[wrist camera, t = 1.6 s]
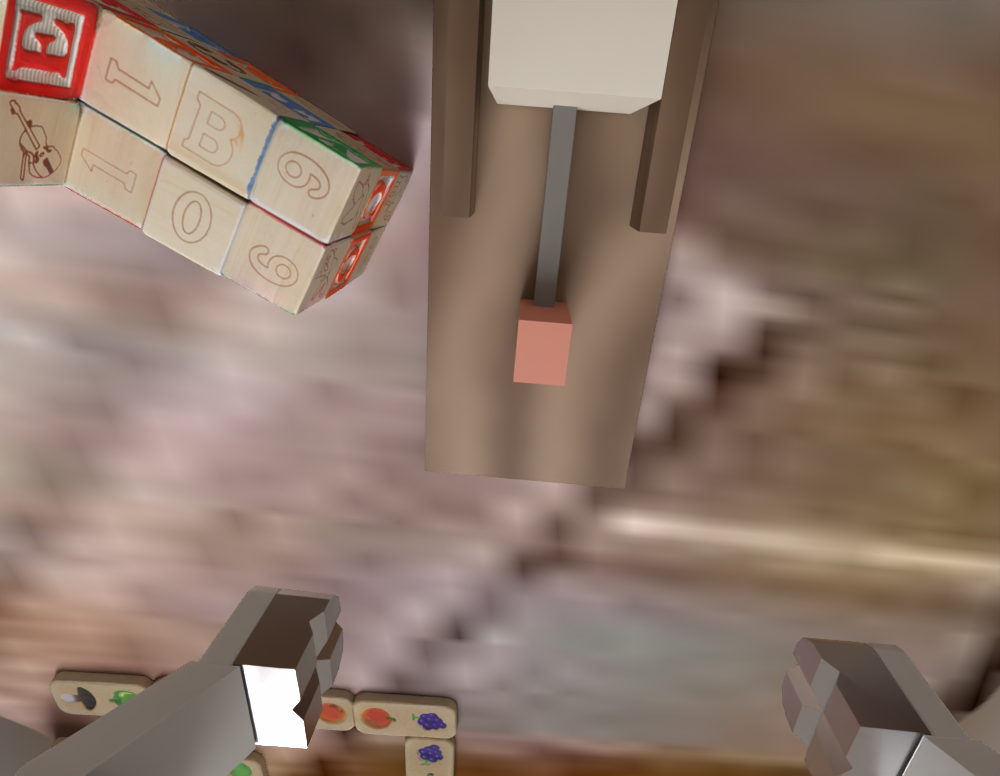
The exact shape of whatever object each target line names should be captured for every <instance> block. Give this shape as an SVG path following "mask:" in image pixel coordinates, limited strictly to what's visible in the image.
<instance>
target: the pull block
mask: <svg viewBox="0 0 1000 776" xmlns="http://www.w3.org/2000/svg"><path fill="white" fill-rule="evenodd" d="M677 3H678V0H493V6H492V24H491V42H490V60H489V78H488V87H489V89H490V91H491V92H492V94H493V96H494V98H495V100H496V102H497V104H507V105H520V106H533V107H546V108H553V111H552V121H551V131H550V141H549V151H548V161H547V171H546V181H545V192H544V202H543V212H542V222H541V232H540V242H539V252H538V262H537V272H536V282H535V293H534V300H528V299H520V305H519V316H518V327H517V339H516V350H515V364H514V379H513V382H522V383H534V384H545V385H557V386H564V385H565V378H566V370H567V363H568V355H569V347H570V340H571V332H572V321H571V317H570V314H569V310H568V306H567V303H565V302H555V295H556V287H557V278H558V269H559V261H560V252H561V243H562V235H563V226H564V217H565V208H566V200H567V191H568V182H569V174H570V165H571V156H572V148H573V139H574V130H575V122H576V113H577V110H585V111H598V112H610V113H623V114H631V113H633V112H635V111H637V110H640V109H642V108H644V107H646V106H648V105H650V104H652V103H654V102H656V101H658V100H660V99H661V97H662V91H663V85H664V79H665V73H666V67H667V62H668V56H669V50H670V44H671V38H672V32H673V26H674V20H675V14H676V8H677Z"/></svg>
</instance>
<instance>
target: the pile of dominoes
mask: <svg viewBox="0 0 1000 776" xmlns="http://www.w3.org/2000/svg"><path fill="white" fill-rule="evenodd" d="M162 678H164V677H162ZM162 678H159V679H157V680H156V681H152V680H150V679H149V678H147V677H144V676H137V675H120V674H102V673H86V672H69V671H63V672H59V673H58V674H57V675H56V676H55V677H54V679H53V680H52V681H51V683H50V690H51V692H52V694H53V697H54V699H55V701H56V703H57V705H58V707H59V708H60V709H61V710H62V711H64V712H66V713H69V714H81V715H101V716H103V715H105V714H106V713H108V712H110V711H111V710H113V709H114V708H116V707H118V706H119V705H121V704H122V703H124V702H126V701H127V700H129V699H130V698H132V697H134V696H135V695H137V694H138V693H140V692H142V691H143V690H145V689H146V688H148V687H150V686H151V685H153V684H154V683H156V682H158V681H159V680H161V679H162ZM321 699H322V708H323V710H322V713H321V715H320V718H319V720H318V722H317V725H316V727H315V728H318V729H330V730H349V729H351V728H352V727H353V726H354V725H356V727H357V729H358V730H359V731H361V732H363V733H367V734H380V735H397V736H406V738H405V760H406V776H454V767H455V739H454V737H453V736H454V735H455V734H456V730H457V706H456V703H455V702H454V701H453V700H451V699H449V698H441V697H425V696H411V695H396V694H381V693H360V694H358V695H356V696H354V695H353V694H352V693H350V692H348V691H346V690H338V689H328V690H326V691H325V692H324V693H323V694H321ZM66 738H68V737H59V738H57V739H56V741H55V742H54V744H53V745H52V746H51V748H52V747H54V746H55V745H57V744H58V743H60V742H62V741H63V740H65V739H66ZM48 750H49V749H48ZM227 776H268V772H267V768H266V764H265V761H264V758H263V756H261V755H260V754H259V753H257V752H251V753H250V754H249V755H248V756H247V757H246V758H245V759H244V760H243V761H242V762H241V763H240V764H239V765H238V766H237V767H236V768H234V769H233V770H232V771H231V772H230V773H229V774H228V775H227Z"/></svg>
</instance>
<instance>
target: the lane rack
mask: <svg viewBox="0 0 1000 776" xmlns="http://www.w3.org/2000/svg"><path fill="white" fill-rule="evenodd" d="M718 3H719V0H678V3H677V8H676V14H675V20H674V26H673V32H672V38H671V44H670V50H669V56H668V62H667V67H666V73H665V79H664V85H663V91H662V97H661V99H660V100H658V101H656V102H654V103H652V104H650V105H648V106H646V107H644V108H642V109H640V110H637V111H635V112H633V113H631V114H623V113H610V112H598V111H585V110H577V113H576V122H575V130H574V139H573V148H572V156H571V165H570V174H569V182H568V191H567V200H566V208H565V217H564V226H563V235H562V243H561V252H560V261H559V269H558V278H557V287H556V295H555V302H565V303H567V306H568V310H569V314H570V317H571V321H572V332H571V340H570V347H569V355H568V363H567V370H566V378H565V385H564V386H557V385H545V384H534V383H522V382H513V379H514V364H515V350H516V339H517V327H518V316H519V305H520V299H528V300H534V293H535V282H536V272H537V262H538V252H539V242H540V232H541V222H542V212H543V202H544V192H545V181H546V171H547V161H548V151H549V141H550V131H551V121H552V111H553V108H546V107H533V106H520V105H507V104H497V102H496V100H495V98H494V96H493V94H492V92H491V91H490V89H489V87H488V78H489V60H490V42H491V24H492V6H493V0H434V17H433V69H432V121H431V173H430V224H429V276H428V328H427V379H426V431H425V471H431V472H442V473H453V474H464V475H476V476H487V477H498V478H509V479H521V480H532V481H543V482H555V483H566V484H577V485H588V486H600V487H611V488H622V489H624V486H625V481H626V476H627V471H628V465H629V460H630V455H631V450H632V445H633V440H634V435H635V429H636V424H637V419H638V414H639V409H640V404H641V399H642V394H643V388H644V383H645V378H646V373H647V368H648V363H649V358H650V352H651V347H652V342H653V337H654V332H655V327H656V322H657V317H658V311H659V306H660V301H661V296H662V291H663V286H664V281H665V275H666V270H667V265H668V260H669V255H670V250H671V245H672V240H673V234H674V229H675V224H676V219H677V214H678V209H679V204H680V198H681V193H682V188H683V183H684V178H685V173H686V168H687V163H688V157H689V152H690V147H691V142H692V137H693V132H694V127H695V121H696V116H697V111H698V106H699V101H700V96H701V91H702V85H703V80H704V75H705V70H706V65H707V60H708V55H709V50H710V44H711V39H712V34H713V29H714V24H715V19H716V14H717V8H718Z"/></svg>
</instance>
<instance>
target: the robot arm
mask: <svg viewBox="0 0 1000 776" xmlns="http://www.w3.org/2000/svg"><path fill="white" fill-rule="evenodd" d="M340 611H341V608H340V601H339V597H338V596H336V595H333V594H325V593H317V592H308V591H300V590H291V589H279V588H270V587H262V586H255V587H254V588H252V589H251V590H249V591H248V592H247V593H246V595H245V596H244V598H243V599H242V600H241V602H240V603H239V605H238V606H237V608H236V609H235V611H234V612H233V613H232V615H231V616H230V618H229V619H228V621H227V622H226V623H225V625H224V626H223V628H222V629H221V631H220V632H219V633H218V635H217V636H216V638H215V639H214V641H213V642H212V644H211V645H210V646H209V648H208V649H207V651H206V652H205V654H204V655H203V656H202V658H201V659H200V661H199V662H195V661H190V662H188V663H186V664H185V665H183V666H182V667H180V668H178V669H177V670H175V671H174V672H172V673H170V674H169V675H167V676H166V677H164V678H162V679H161V680H159V681H158V682H156V683H154V684H153V685H151V686H150V687H148V688H146V689H145V690H143V691H142V692H140V693H138V694H137V695H135V696H134V697H132V698H130V699H129V700H127V701H126V702H124V703H122V704H121V705H119V706H118V707H116V708H114V709H113V710H111V711H110V712H108V713H106V714H105V715H103V716H102V717H100V718H98V719H97V720H95V721H94V722H92V723H90V724H89V725H87V726H86V727H84V728H82V729H81V730H79V731H78V732H76V733H74V734H73V735H71V736H70V737H68V738H66V739H65V740H63V741H62V742H60V743H58V744H57V745H55V746H54V747H52V748H50V749H49V750H47V751H46V752H44V753H43V754H41V755H39V756H38V757H36V758H34V759H33V760H31V761H30V762H28V763H26V764H25V765H23V766H22V767H21V768H20V769H19V770H18V772H17V773H16V774H15V775H14V776H227V775H228V774H229V773H230V772H231V771H232V770H233V769H234V768H236V767H237V766H238V765H239V764H240V763H241V762H242V761H243V760H244V759H245V758H246V757H247V756H248V755H249V754H250V753H251V752H252V751H253V750H254V749H255V748H256V744H260V745H273V746H286V747H299V748H307V747H308V744H309V742H310V739H311V737H312V735H313V732H314V730H315V727H316V725H317V722H318V720H319V718H320V715H321V713H322V710H323V708H322V699H321V694H323V693H324V692H325V691H326V690H328V689H329V688H330V687H331V686H332V685H333V683H334V680H335V678H336V675H337V673H338V670H339V665H340V661H341V657H342V653H343V629H342V628H341V627H340V626H339V625H338V624H337V622H336V620H337V618H338V616H339V614H340ZM793 654H794V656H795V658H796V660H797V662H798V664H797V665H795V666H794V667H792V668H791V669H790V670H788V671H787V672H786V674H785V678H784V681H783V684H782V702H783V707H784V711H785V715H786V718H787V720H788V723H789V725H790V727H791V730H792V732H793V733H794V734H795V735H796V736H797V737H798V738H799V739H800V740H801V741H802V742H803V743H805V744H806V745H807V746H808V749H807V753H806V757H805V762H806V764H807V766H808V769H809V771H810V773H811V775H812V776H1000V754H998V753H997V752H996V751H994V750H993V749H991V748H990V747H989V746H987V745H985V744H984V743H983V742H982V741H978V740H970V738H969V737H968V736H967V735H966V733H965V732H964V730H963V729H962V728H961V726H960V725H959V724H958V722H957V721H956V720H955V718H954V717H953V716H952V714H951V713H950V712H949V710H948V709H947V708H946V706H945V705H944V704H943V702H942V701H941V700H940V698H939V697H938V696H937V694H936V693H935V692H934V690H933V689H932V688H931V686H930V685H929V684H928V682H927V681H926V680H925V678H924V677H923V676H922V674H921V673H920V672H919V670H918V669H917V668H916V666H915V665H914V664H913V662H912V661H911V660H910V658H909V657H908V656H907V654H906V653H905V652H904V651H903V650H902V649H900V648H899V647H897V646H896V645H887V644H875V643H860V642H852V641H840V640H828V639H815V638H802V639H801V640H800V641H798V642H797V644H796V647H795V649H794V652H793Z"/></svg>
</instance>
